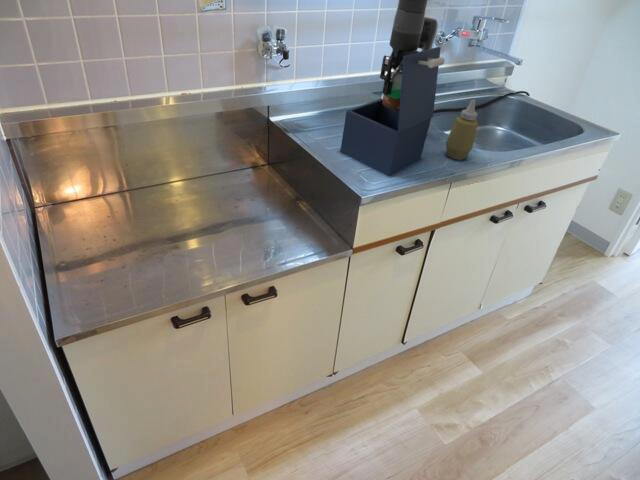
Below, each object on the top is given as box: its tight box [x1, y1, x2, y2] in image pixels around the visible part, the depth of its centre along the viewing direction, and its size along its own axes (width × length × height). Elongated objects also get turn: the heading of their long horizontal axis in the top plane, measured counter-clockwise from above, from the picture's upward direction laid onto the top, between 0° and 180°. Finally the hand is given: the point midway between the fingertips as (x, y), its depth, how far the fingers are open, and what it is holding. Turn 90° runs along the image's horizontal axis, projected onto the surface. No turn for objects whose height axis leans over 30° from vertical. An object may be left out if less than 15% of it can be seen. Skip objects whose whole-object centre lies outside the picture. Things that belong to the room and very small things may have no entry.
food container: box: [382, 68, 402, 111], centre depth 130 cm, size 12×6×10 cm, turn 25°
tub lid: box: [398, 46, 445, 132], centre depth 123 cm, size 19×17×5 cm
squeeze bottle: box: [445, 99, 479, 161], centre depth 142 cm, size 8×8×18 cm
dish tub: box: [339, 98, 432, 176], centre depth 138 cm, size 18×17×13 cm
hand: (394, 91), depth 130 cm, fingers closed on food container, 7 cm apart
